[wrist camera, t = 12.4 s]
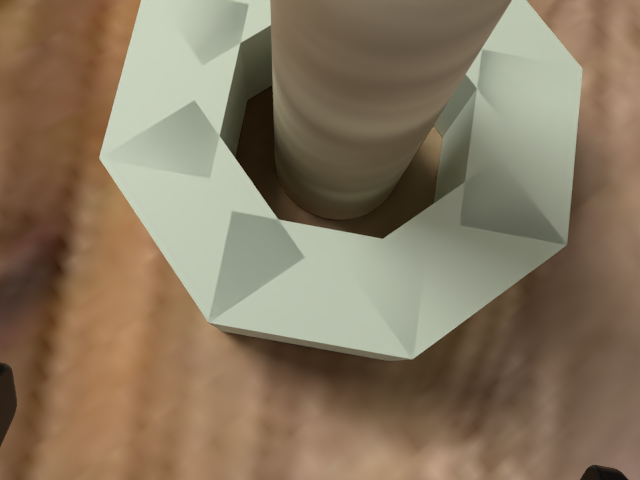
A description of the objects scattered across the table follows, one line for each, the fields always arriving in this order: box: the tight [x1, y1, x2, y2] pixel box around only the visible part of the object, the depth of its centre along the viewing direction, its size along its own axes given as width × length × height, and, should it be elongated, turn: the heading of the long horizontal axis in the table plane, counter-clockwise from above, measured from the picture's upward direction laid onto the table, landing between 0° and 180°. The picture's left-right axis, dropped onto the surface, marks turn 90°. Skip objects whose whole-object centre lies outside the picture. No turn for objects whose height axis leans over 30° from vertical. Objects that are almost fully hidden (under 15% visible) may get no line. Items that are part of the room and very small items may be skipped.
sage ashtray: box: [99, 0, 582, 361], centre depth 18 cm, size 12×12×4 cm
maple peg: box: [270, 0, 512, 220], centre depth 12 cm, size 4×4×14 cm
